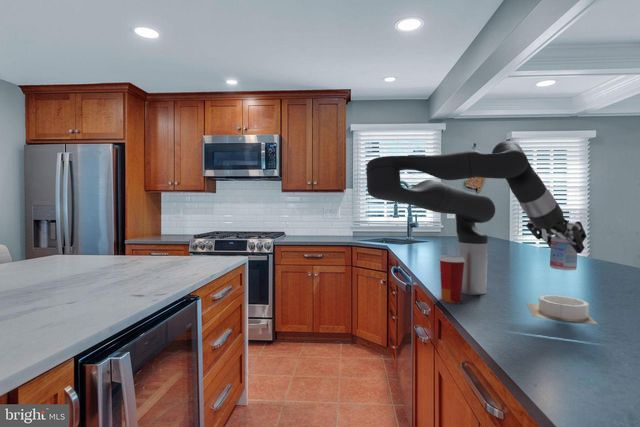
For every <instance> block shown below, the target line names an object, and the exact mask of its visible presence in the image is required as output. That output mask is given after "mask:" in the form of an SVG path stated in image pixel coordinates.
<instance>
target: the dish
mask: <svg viewBox="0 0 640 427" xmlns="http://www.w3.org/2000/svg"><path fill="white" fill-rule="evenodd" d="M538 304H539V305H538V309H539V311H540V312H542V313H544V314H547V315H550V316H554V317H558V318H564V319H572V320H583V319H587V318H588V317H589V316H590V315H589V314H590V312H589V311H590V303H588V302H587V301H585V300H582V299H580V298H575V297H570V296H566V295H565V296H564V295H555V294H546V295H545V294H544V295H543V294H542V295H541V296H540V295H539V296H538Z"/></svg>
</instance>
